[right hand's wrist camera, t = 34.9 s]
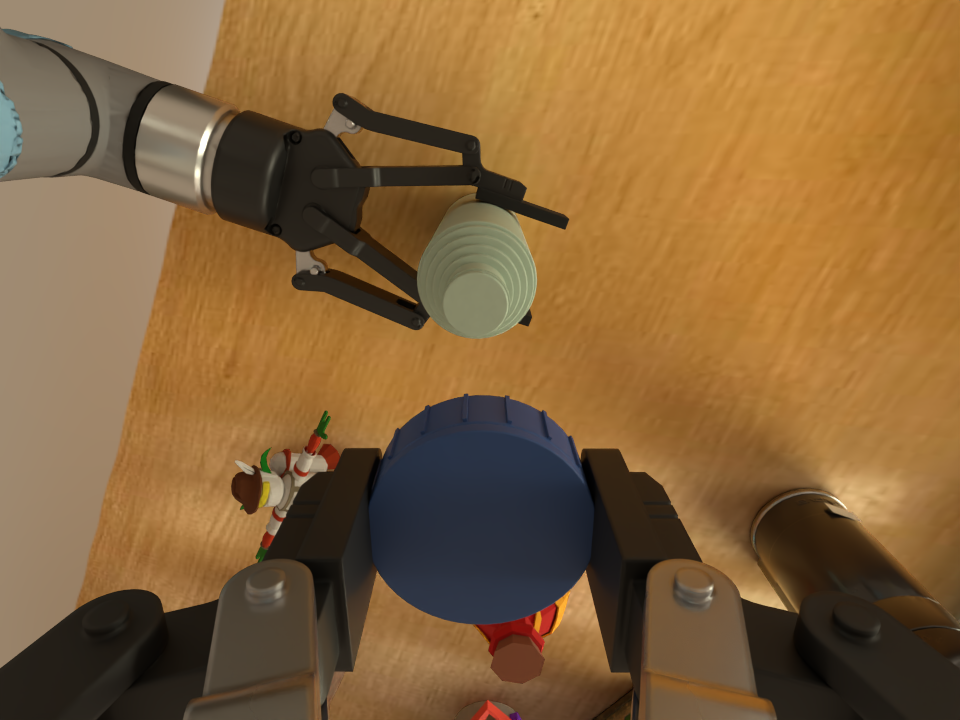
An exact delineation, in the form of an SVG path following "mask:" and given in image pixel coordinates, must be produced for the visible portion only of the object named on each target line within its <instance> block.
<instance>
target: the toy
mask: <svg viewBox="0 0 960 720" xmlns="http://www.w3.org/2000/svg"><path fill="white" fill-rule="evenodd" d="M327 414H328V411H325V412H324V414H323V416H322V418H321V420H320V423H319V425H318V427H317V429H315V430H314V434H312V435H311V437H310V439H309V443H308V446H304V447H303V453H301V454H299V453H291V451H290V449H284V450H283V451H282V452H278V453H276V454H274V456H273V457H272V458H271V459H270V464H269V465H270V469H271V470H270V469H269V467H268V465H267V460H266V457H267V454H268V452H269V450H270V449H271V448H272V447H271V448H269V449H268V450H266V451H265V452H264V453H263V454H262V455H261V461H260V464H261V468H262V469H261V468H258V467H257V466H255V465H253V466H252V467H250V466H248V465H247V464H245V463H243V462H241V461H237V460H235V463H236V464H237V465H238V466H239V467H240V468H241V469H242V470H243V471H244V472H240V473H238V474H236V475H235V477H234V478H233V480H232V485H231V490H232V495H233V496H234V498H235V499H236V500H238V501H239V502H240V503H242V504H243V505H242V506H241V508H240V510H242V509H244V510H245V511H246V513H247V514H253V513H255V512H256V511H257V509H258V508H261V507H262V506H263V507H273V506H275V507H274V509H273V511H272V515H271V518H270V522H269V523H268V524H267V525H266V529H267V532H266V533H265V534H264V536H263V540H262V542H261V543H260V545H261V547H260V549H259V551H258V553H257V555H256V559H259V560H258V563H259V562H261V561H262V560H263V558H264V556H265V554H266V552H267V549H268V548H269V545H270V544H271V542H272V540H273V538H274V536H275V535H276V533H277V531H278V529H279V527H280V525H281V523H282V521H283V519H284V518H286V513H287V511H288V510H289V508H290V506H291V505H292V504H293V500H294V498H295V496H296V494H297V492H298V490H299V488H300V486H301V485H302V484H303V483H305V482H306V481H307V480H308V479H310V478H311V477H312V476H313V475H315V474H316V473H317V472H326V471H327V469H335V468H336V466H337V463H338V461H339V459H340V456H339V453H338V451H337V450H336V449H335V448H334V447H333V446H332V445H331V444H323V446H322V448H321V449H320V451H319V453H318V454H317V455H316V451H315V450H316V448H317V447H318V446H319V444H320V441H321V438H323V439H327V435H326V434H325V433H324V432H325V429H326V427H327V425H328V423H329V421H330V418H331V417H330V416H328V417H327ZM326 417H327V419H326ZM325 419H326V420H325ZM259 557H260V558H259Z"/></svg>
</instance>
